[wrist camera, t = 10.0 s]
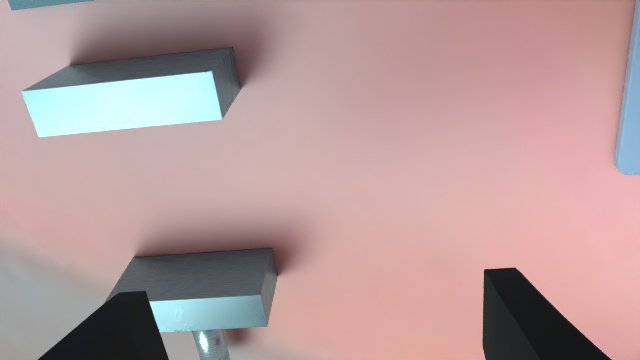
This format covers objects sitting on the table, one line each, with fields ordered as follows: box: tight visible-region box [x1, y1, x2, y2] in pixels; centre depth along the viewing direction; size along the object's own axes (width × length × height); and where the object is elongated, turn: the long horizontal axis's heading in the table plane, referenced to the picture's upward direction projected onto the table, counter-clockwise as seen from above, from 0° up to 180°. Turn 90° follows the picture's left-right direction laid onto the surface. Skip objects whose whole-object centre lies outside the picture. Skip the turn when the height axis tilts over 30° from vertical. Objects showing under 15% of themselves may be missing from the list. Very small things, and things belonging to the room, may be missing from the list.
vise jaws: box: [22, 47, 277, 360], centre depth 20 cm, size 6×14×3 cm, turn 7°
